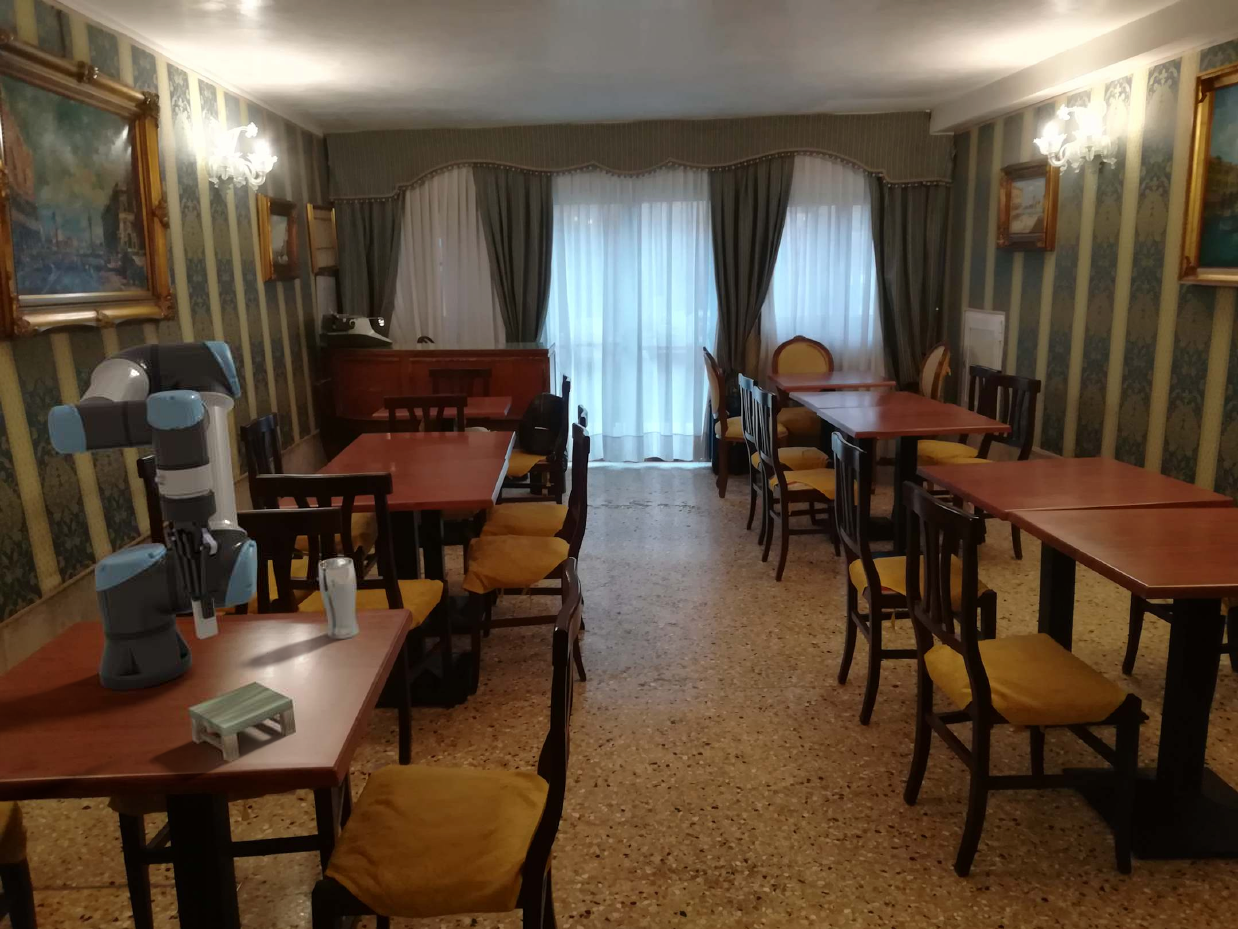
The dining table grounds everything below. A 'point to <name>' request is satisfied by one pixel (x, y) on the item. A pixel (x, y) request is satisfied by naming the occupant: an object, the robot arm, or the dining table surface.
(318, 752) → the dining table surface
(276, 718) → the footstool
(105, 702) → the dining table surface
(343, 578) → the beer glass
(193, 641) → the dining table surface
